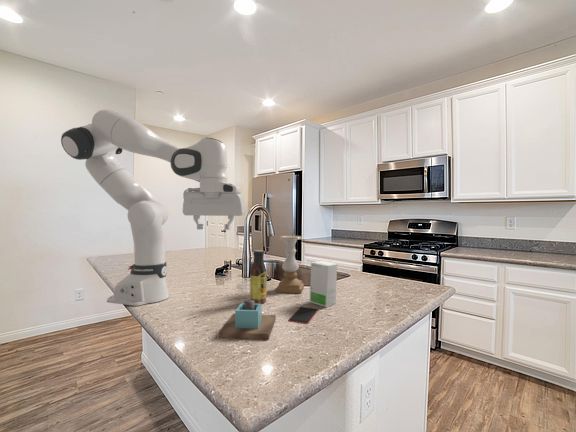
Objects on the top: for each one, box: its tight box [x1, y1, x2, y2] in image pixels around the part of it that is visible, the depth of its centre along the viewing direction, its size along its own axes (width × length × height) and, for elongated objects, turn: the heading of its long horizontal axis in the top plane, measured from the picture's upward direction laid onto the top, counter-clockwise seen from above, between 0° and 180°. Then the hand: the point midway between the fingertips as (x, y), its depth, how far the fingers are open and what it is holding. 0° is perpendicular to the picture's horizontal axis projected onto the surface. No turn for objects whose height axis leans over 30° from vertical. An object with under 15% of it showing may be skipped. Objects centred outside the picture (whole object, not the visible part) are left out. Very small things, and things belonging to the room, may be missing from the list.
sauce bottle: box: [249, 249, 268, 304], centre depth 108 cm, size 7×6×20 cm
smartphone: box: [287, 306, 319, 325], centre depth 95 cm, size 7×1×14 cm
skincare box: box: [309, 260, 338, 308], centre depth 107 cm, size 8×7×16 cm
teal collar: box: [234, 302, 263, 329], centre depth 84 cm, size 7×7×5 cm
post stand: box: [218, 299, 277, 340], centre depth 84 cm, size 14×14×8 cm
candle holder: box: [275, 235, 305, 295], centre depth 125 cm, size 11×11×24 cm
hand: (213, 229), depth 93 cm, fingers open, 8 cm apart
